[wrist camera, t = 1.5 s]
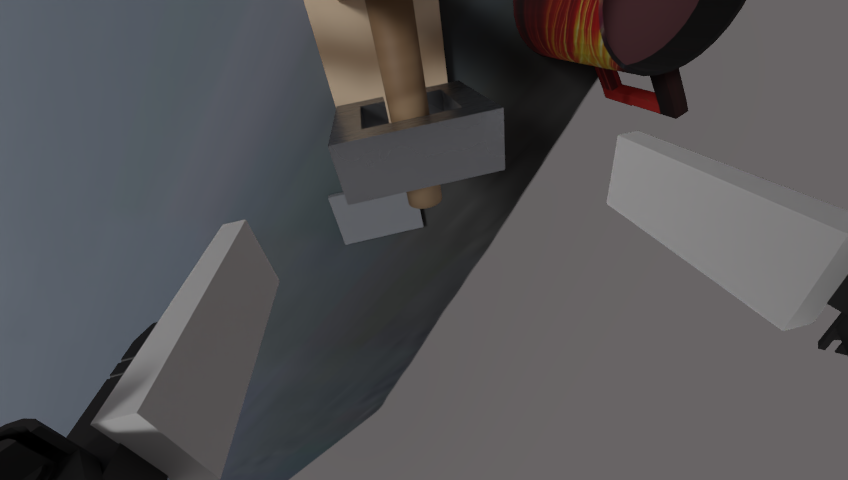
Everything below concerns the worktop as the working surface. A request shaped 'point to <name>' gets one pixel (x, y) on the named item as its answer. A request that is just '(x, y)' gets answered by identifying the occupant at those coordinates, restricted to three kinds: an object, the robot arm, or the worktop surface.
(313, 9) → the stand
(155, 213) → the worktop surface
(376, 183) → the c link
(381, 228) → the pad
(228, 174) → the worktop surface
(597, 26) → the mug
